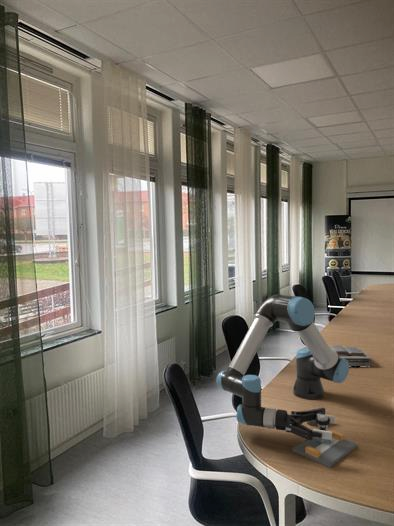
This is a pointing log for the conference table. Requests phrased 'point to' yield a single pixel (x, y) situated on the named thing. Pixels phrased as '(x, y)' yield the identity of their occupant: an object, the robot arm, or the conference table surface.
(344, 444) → the mounting panel
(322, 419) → the push button
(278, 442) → the conference table surface
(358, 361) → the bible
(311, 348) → the robot arm
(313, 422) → the mini dv tape
